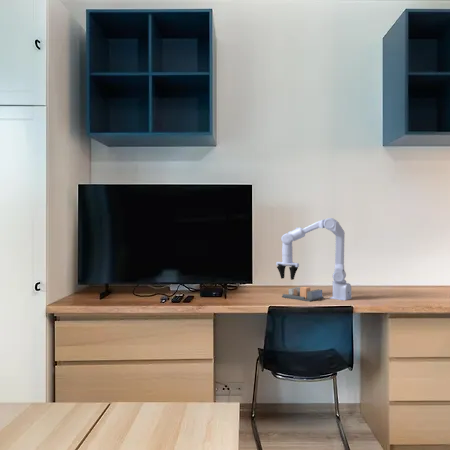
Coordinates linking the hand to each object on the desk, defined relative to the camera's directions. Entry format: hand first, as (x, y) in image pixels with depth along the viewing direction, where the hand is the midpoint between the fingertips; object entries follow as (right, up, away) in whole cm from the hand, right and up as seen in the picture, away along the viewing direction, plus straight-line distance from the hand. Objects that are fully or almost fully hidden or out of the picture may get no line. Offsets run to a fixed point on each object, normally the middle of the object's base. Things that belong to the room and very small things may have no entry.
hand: (287, 278), depth 245 cm
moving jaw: (+4, -8, -4) cm, 10 cm away
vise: (+7, -9, -7) cm, 14 cm away
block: (+8, -9, -8) cm, 15 cm away
